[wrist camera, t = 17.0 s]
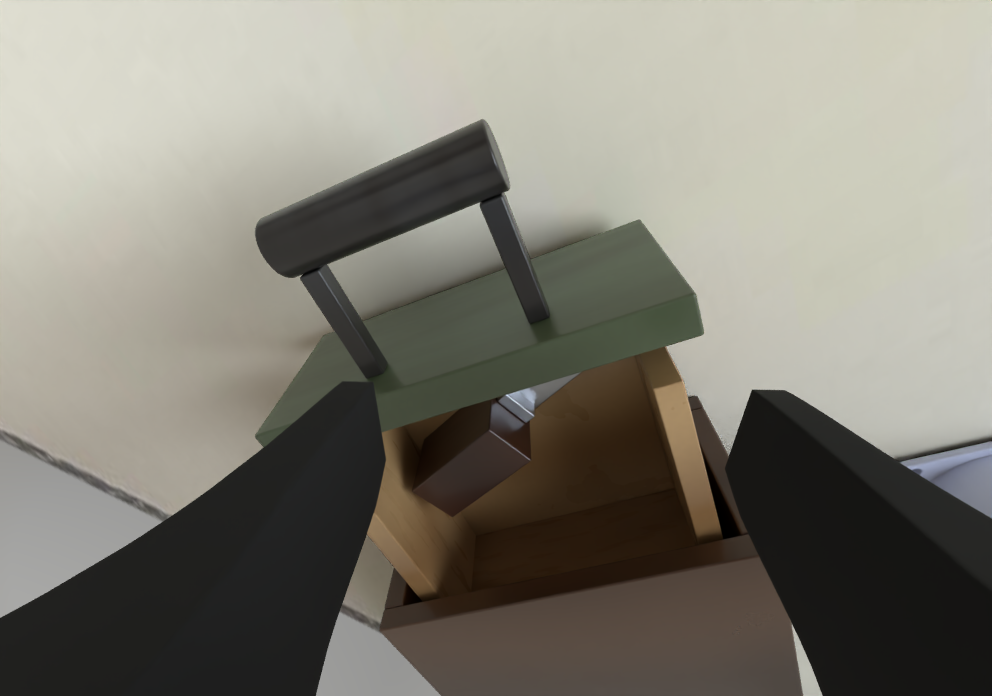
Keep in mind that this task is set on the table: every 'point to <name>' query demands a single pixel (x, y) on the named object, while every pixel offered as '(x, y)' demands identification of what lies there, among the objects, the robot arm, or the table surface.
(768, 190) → the table surface
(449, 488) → the knife
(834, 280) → the table surface
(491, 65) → the table surface
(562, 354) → the drawer
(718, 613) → the cabinet
